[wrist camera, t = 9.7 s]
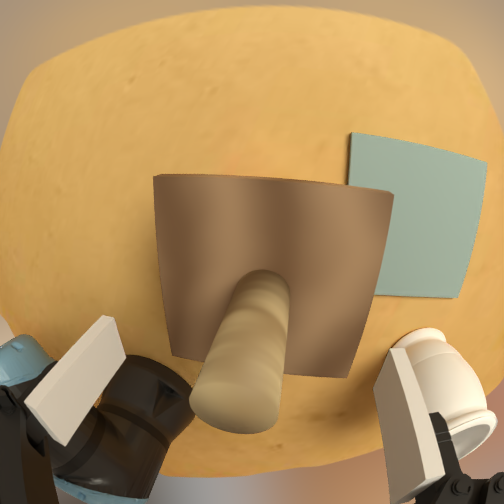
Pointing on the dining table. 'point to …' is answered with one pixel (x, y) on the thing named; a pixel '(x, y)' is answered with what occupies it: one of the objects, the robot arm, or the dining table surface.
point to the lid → (265, 284)
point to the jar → (449, 388)
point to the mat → (422, 212)
